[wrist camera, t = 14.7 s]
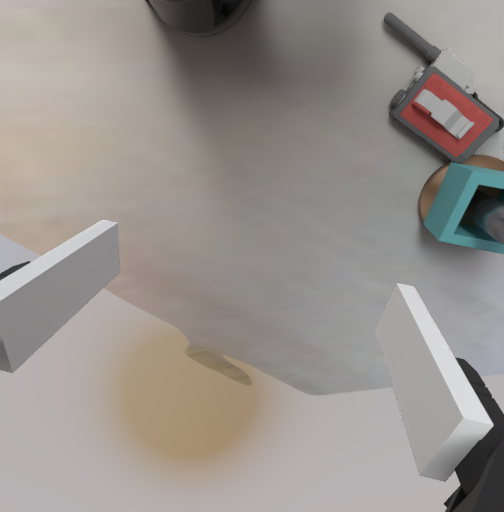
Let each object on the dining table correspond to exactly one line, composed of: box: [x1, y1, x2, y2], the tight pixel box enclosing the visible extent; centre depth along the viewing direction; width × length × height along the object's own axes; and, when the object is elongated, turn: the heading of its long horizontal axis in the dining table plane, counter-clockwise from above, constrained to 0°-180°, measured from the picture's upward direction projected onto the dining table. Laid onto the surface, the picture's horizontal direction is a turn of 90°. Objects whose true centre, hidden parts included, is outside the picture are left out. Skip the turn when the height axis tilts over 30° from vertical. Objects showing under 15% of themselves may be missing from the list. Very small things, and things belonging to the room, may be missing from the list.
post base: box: [419, 155, 504, 226], centre depth 43 cm, size 12×12×2 cm
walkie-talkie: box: [384, 13, 504, 163], centre depth 38 cm, size 9×4×20 cm
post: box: [463, 189, 504, 245], centre depth 37 cm, size 4×4×14 cm
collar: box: [423, 162, 504, 254], centre depth 40 cm, size 9×9×6 cm
